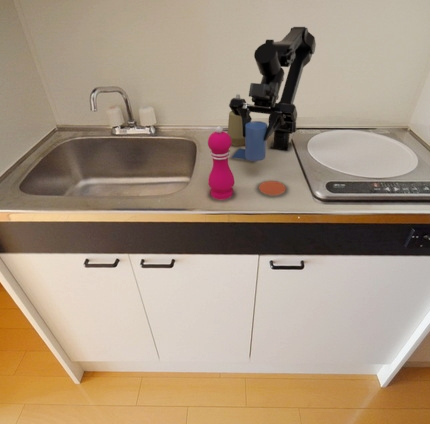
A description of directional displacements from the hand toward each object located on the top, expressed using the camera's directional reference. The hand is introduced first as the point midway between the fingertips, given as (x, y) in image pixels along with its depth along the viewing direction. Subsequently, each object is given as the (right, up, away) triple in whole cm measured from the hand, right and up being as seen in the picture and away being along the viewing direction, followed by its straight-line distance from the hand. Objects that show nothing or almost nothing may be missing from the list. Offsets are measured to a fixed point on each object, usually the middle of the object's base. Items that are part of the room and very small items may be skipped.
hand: (253, 138), depth 79 cm
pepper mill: (-9, -16, +2) cm, 18 cm away
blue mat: (-1, 0, +22) cm, 22 cm away
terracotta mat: (+6, -14, +4) cm, 15 cm away
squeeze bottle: (-3, +6, +31) cm, 31 cm away
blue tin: (+1, -4, +5) cm, 6 cm away
